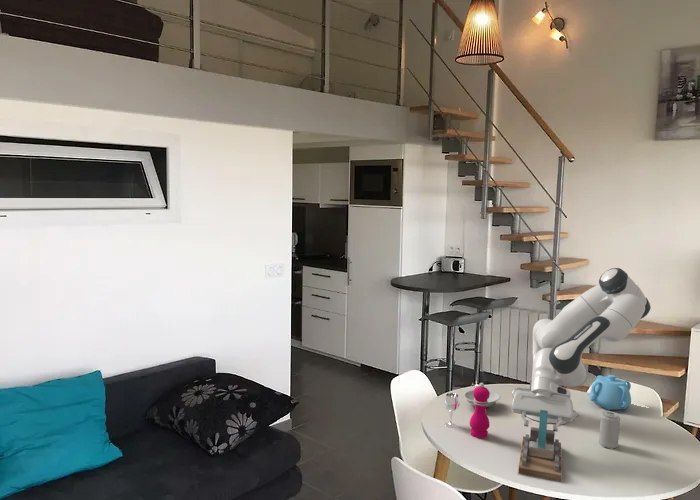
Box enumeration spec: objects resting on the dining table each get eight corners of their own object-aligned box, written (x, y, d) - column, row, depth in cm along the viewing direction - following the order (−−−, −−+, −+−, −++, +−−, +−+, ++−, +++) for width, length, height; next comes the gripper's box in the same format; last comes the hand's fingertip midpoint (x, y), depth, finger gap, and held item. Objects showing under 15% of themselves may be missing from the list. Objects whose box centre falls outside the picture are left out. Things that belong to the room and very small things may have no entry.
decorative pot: (634, 406, 254) (637, 375, 252) (625, 416, 241) (627, 384, 240) (595, 396, 264) (597, 367, 262) (584, 406, 251) (586, 375, 250)
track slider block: (528, 449, 201) (531, 407, 200) (553, 453, 199) (556, 410, 197) (528, 455, 197) (531, 412, 195) (553, 459, 194) (556, 416, 192)
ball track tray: (522, 441, 213) (524, 423, 212) (560, 448, 208) (562, 429, 208) (518, 473, 188) (519, 452, 188) (561, 481, 184) (562, 460, 183)
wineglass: (454, 429, 222) (456, 398, 220) (440, 425, 225) (442, 395, 224) (460, 424, 227) (462, 394, 225) (446, 421, 230) (448, 391, 228)
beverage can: (616, 443, 214) (619, 412, 213) (618, 450, 208) (621, 418, 207) (598, 440, 216) (600, 409, 215) (599, 447, 210) (601, 415, 209)
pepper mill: (489, 440, 213) (492, 387, 211) (469, 437, 215) (472, 385, 213) (488, 432, 220) (491, 380, 218) (469, 430, 222) (471, 378, 220)
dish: (485, 417, 235) (485, 405, 234) (455, 407, 245) (455, 395, 244) (506, 406, 248) (507, 395, 247) (477, 397, 257) (478, 386, 257)
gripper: (513, 382, 207) (508, 418, 199) (574, 391, 200) (572, 429, 192) (513, 390, 212) (509, 426, 204) (573, 399, 205) (571, 437, 197)
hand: (540, 428), depth 198 cm, fingers open, 8 cm apart
